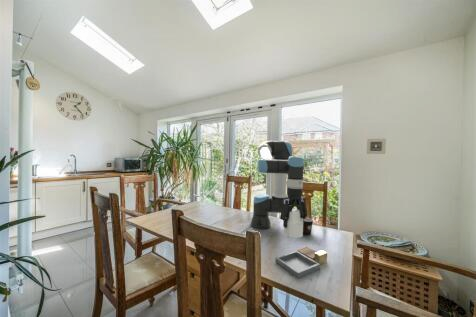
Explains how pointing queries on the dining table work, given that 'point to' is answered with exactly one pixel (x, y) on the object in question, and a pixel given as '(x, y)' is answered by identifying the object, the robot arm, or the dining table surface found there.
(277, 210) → the robot arm
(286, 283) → the dining table surface
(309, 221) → the coffee mug
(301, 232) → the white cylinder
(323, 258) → the block
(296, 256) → the tray
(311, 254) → the tan rounded-edge slab
